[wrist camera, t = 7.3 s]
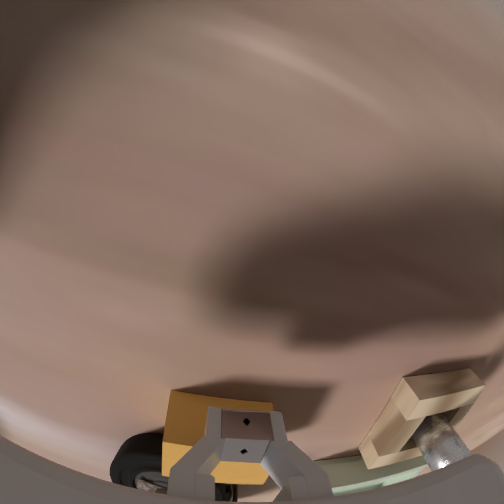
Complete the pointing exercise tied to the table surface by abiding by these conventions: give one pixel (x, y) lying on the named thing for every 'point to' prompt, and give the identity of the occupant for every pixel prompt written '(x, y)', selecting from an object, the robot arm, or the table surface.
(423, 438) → the stop pin
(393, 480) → the tray
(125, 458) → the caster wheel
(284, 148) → the table surface
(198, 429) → the chock
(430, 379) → the pin stand
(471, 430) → the table surface
